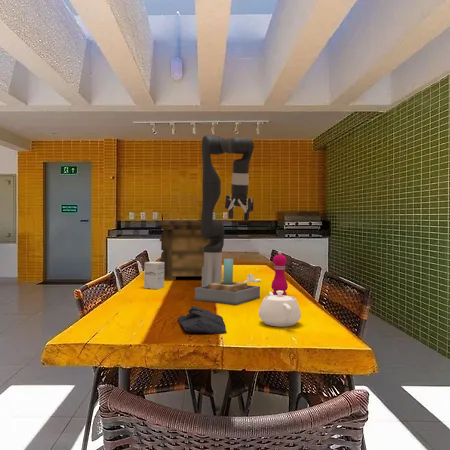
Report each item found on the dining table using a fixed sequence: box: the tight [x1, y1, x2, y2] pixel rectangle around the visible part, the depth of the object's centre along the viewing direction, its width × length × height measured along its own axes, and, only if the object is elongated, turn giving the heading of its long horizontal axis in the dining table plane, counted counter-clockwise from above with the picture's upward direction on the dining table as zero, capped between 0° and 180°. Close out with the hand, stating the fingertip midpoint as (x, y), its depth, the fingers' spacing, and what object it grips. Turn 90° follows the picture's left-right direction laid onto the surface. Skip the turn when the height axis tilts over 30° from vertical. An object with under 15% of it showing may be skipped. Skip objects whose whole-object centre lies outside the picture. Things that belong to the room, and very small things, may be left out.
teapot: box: [258, 291, 302, 328], centre depth 145 cm, size 22×14×11 cm, turn 10°
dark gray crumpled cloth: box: [177, 305, 227, 335], centre depth 140 cm, size 15×22×5 cm
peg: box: [222, 258, 234, 285], centre depth 187 cm, size 4×4×14 cm
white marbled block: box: [143, 261, 165, 290], centre depth 215 cm, size 7×7×13 cm
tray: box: [194, 284, 261, 306], centre depth 187 cm, size 20×20×5 cm
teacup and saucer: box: [243, 274, 262, 283], centre depth 241 cm, size 9×8×4 cm
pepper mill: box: [270, 250, 289, 296], centre depth 195 cm, size 7×7×20 cm
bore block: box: [208, 281, 248, 292], centre depth 187 cm, size 12×12×6 cm
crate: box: [158, 220, 225, 281], centre depth 257 cm, size 35×35×33 cm
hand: (238, 219), depth 198 cm, fingers open, 8 cm apart
